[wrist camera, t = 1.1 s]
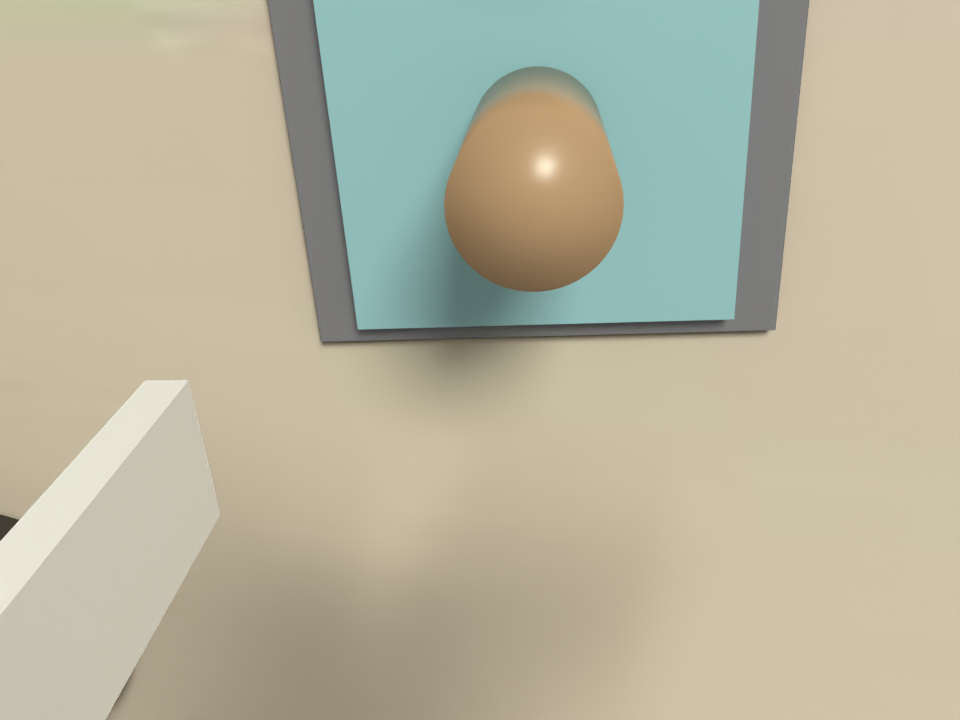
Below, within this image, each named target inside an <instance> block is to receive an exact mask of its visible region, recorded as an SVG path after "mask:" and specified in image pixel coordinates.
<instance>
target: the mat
mask: <svg viewBox="0 0 960 720" xmlns="http://www.w3.org/2000/svg"><path fill="white" fill-rule="evenodd" d="M268 6H269V12H270V19H271V25H272V31H273V38H274V44H275V50H276V57H277V63H278V69H279V76H280V82H281V88H282V95H283V101H284V107H285V114H286V120H287V126H288V133H289V139H290V145H291V152H292V158H293V164H294V171H295V177H296V183H297V190H298V196H299V202H300V209H301V215H302V221H303V228H304V234H305V240H306V247H307V253H308V259H309V266H310V272H311V278H312V285H313V291H314V297H315V304H316V310H317V316H318V323H319V329H320V335H321V342H330V341H368V340H407V339H446V338H485V337H524V336H562V335H601V334H640V333H679V332H718V331H756V330H775V328H776V318H777V309H778V299H779V289H780V280H781V270H782V260H783V250H784V241H785V231H786V221H787V212H788V202H789V192H790V183H791V173H792V163H793V153H794V144H795V134H796V124H797V115H798V105H799V95H800V86H801V76H802V66H803V57H804V47H805V37H806V27H807V18H808V8H809V0H759V12H758V25H757V38H756V50H755V63H754V76H753V88H752V101H751V114H750V126H749V139H748V152H747V164H746V177H745V189H744V202H743V215H742V227H741V240H740V253H739V265H738V278H737V291H736V303H735V316H734V319H729V320H692V321H655V322H618V323H581V324H544V325H507V326H470V327H433V328H396V329H359V330H358V327H357V319H356V312H355V305H354V297H353V290H352V283H351V275H350V268H349V261H348V253H347V246H346V239H345V231H344V224H343V216H342V209H341V202H340V194H339V187H338V180H337V172H336V165H335V158H334V150H333V143H332V136H331V128H330V121H329V114H328V106H327V99H326V91H325V84H324V77H323V69H322V62H321V55H320V47H319V40H318V33H317V25H316V18H315V11H314V3H313V0H268Z"/></svg>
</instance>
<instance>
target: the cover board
mask: <svg viewBox="0 0 960 720" xmlns="http://www.w3.org/2000/svg"><path fill="white" fill-rule="evenodd" d="M313 3H314V11H315V18H316V25H317V33H318V40H319V47H320V55H321V62H322V69H323V77H324V84H325V91H326V99H327V106H328V114H329V121H330V128H331V136H332V143H333V150H334V158H335V165H336V172H337V180H338V187H339V194H340V202H341V209H342V216H343V224H344V231H345V239H346V246H347V253H348V261H349V268H350V275H351V283H352V290H353V297H354V305H355V312H356V319H357V327H358V330H359V329H396V328H433V327H470V326H507V325H544V324H581V323H618V322H655V321H692V320H729V319H734V316H735V303H736V291H737V278H738V265H739V253H740V240H741V227H742V215H743V202H744V189H745V177H746V164H747V152H748V139H749V126H750V114H751V101H752V88H753V76H754V63H755V50H756V38H757V25H758V12H759V0H313Z"/></svg>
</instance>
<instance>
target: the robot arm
mask: <svg viewBox="0 0 960 720" xmlns="http://www.w3.org/2000/svg"><path fill="white" fill-rule="evenodd" d="M219 516H220V510H219V506H218V502H217V497H216V493H215V489H214V485H213V480H212V476H211V472H210V467H209V463H208V459H207V455H206V450H205V446H204V442H203V438H202V433H201V429H200V425H199V421H198V416H197V412H196V408H195V403H194V399H193V395H192V391H191V386H190V382H189V380H158V381H144V382H143V383H142V384H141V386H140V387H139V388H138V389H137V390H136V391H135V392H134V393H133V394H132V396H131V397H130V398H129V399H128V400H127V401H126V402H125V403H124V404H123V406H122V407H121V408H120V409H119V410H118V411H117V412H116V413H115V414H114V416H113V417H112V418H111V419H110V420H109V421H108V422H107V423H106V424H105V426H104V427H103V428H102V429H101V430H100V431H99V432H98V433H97V434H96V436H95V437H94V438H93V439H92V440H91V441H90V442H89V443H88V444H87V446H86V447H85V448H84V449H83V450H82V451H81V452H80V453H79V454H78V456H77V457H76V458H75V459H74V460H73V461H72V462H71V463H70V464H69V466H68V467H67V468H66V469H65V470H64V471H63V472H62V473H61V474H60V476H59V477H58V478H57V479H56V480H55V481H54V482H53V483H52V484H51V486H50V487H49V488H48V489H47V490H46V491H45V492H44V493H43V494H42V496H41V497H40V498H39V499H38V500H37V501H36V502H35V503H34V504H33V506H32V507H31V508H30V509H29V510H28V511H27V512H26V513H25V514H24V516H23V517H22V518H21V519H20V520H16V519H13V518H9V517H6V516H2V515H0V720H106V718H107V716H108V715H109V713H110V711H111V709H112V707H113V706H114V704H115V702H116V700H117V698H118V697H119V695H120V693H121V691H122V690H123V688H124V686H125V684H126V682H127V681H128V679H129V677H130V675H131V673H132V672H133V670H134V668H135V666H136V665H137V663H138V661H139V659H140V657H141V656H142V654H143V652H144V650H145V648H146V647H147V645H148V643H149V641H150V639H151V638H152V636H153V634H154V632H155V631H156V629H157V627H158V625H159V623H160V622H161V620H162V618H163V616H164V614H165V613H166V611H167V609H168V607H169V605H170V604H171V602H172V600H173V598H174V597H175V595H176V593H177V591H178V589H179V588H180V586H181V584H182V582H183V580H184V579H185V577H186V575H187V573H188V572H189V570H190V568H191V566H192V564H193V563H194V561H195V559H196V557H197V555H198V554H199V552H200V550H201V548H202V546H203V545H204V543H205V541H206V539H207V538H208V536H209V534H210V532H211V530H212V529H213V527H214V525H215V523H216V521H217V520H218V518H219Z"/></svg>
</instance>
